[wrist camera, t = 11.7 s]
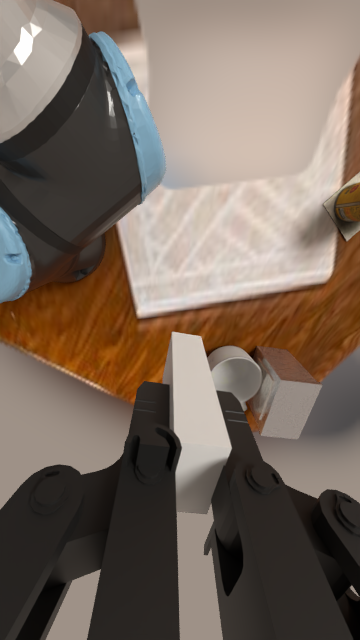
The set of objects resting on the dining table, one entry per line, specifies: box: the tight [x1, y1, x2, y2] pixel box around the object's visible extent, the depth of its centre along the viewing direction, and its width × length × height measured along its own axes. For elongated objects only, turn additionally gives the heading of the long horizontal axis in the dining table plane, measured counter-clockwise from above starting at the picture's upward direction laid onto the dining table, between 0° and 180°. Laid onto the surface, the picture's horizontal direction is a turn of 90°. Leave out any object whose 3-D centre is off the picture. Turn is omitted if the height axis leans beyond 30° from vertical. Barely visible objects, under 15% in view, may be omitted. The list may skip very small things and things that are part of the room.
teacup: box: [207, 346, 263, 411], centre depth 49 cm, size 14×11×8 cm
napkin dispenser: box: [247, 346, 322, 439], centre depth 48 cm, size 8×12×13 cm, turn 171°
